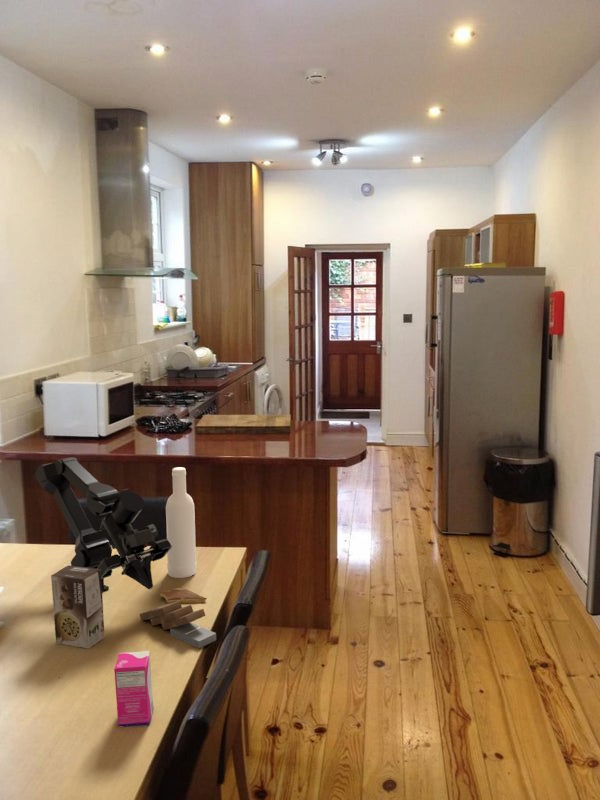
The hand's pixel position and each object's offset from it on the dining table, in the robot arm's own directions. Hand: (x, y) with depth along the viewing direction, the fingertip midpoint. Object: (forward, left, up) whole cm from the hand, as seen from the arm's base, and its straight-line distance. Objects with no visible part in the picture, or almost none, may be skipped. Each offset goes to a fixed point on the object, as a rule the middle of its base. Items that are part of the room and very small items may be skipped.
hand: (150, 588), depth 169 cm
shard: (-4, +13, -8) cm, 16 cm away
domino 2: (+3, 0, -7) cm, 7 cm away
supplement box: (+31, -27, -8) cm, 42 cm away
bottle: (-17, +23, -8) cm, 30 cm away
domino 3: (+7, 0, -7) cm, 10 cm away
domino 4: (+10, 0, -7) cm, 12 cm away
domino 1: (-1, 0, -7) cm, 7 cm away
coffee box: (-3, -17, -8) cm, 19 cm away
